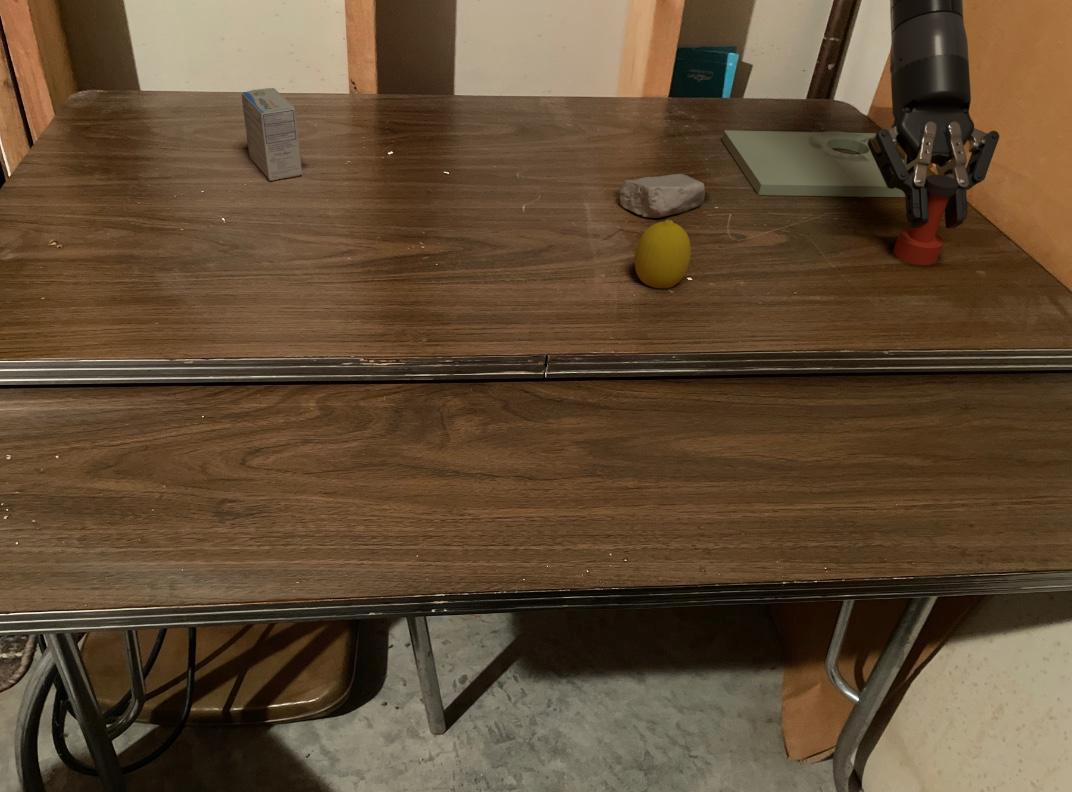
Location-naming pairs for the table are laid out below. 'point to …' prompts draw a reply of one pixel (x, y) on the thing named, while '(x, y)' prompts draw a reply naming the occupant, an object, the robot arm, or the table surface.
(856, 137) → the drain plate
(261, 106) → the medicine box
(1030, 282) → the table surface
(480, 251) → the table surface
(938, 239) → the stopper
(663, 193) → the grey chipped rock
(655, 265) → the lemon
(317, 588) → the table surface
